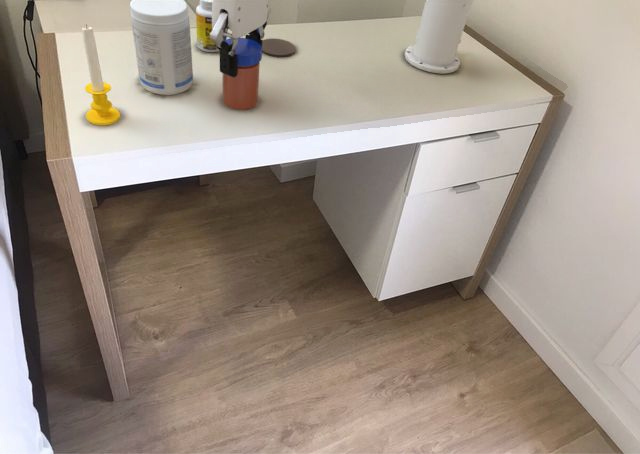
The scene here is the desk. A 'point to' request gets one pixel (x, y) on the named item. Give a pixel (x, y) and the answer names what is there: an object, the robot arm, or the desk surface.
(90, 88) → the candle
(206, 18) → the supplement bottle
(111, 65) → the desk surface
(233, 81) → the jar
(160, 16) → the supplement tub
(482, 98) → the desk surface
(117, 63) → the desk surface
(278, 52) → the coaster
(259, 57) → the jar lid
